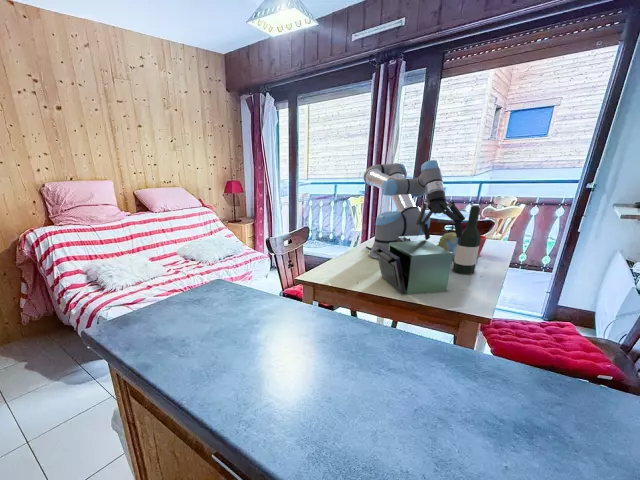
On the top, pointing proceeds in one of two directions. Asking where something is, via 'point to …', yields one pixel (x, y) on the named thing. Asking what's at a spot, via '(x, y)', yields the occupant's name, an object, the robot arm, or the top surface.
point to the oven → (423, 265)
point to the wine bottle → (468, 244)
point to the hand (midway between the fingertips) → (443, 237)
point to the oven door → (390, 268)
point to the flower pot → (481, 244)
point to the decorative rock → (449, 243)
